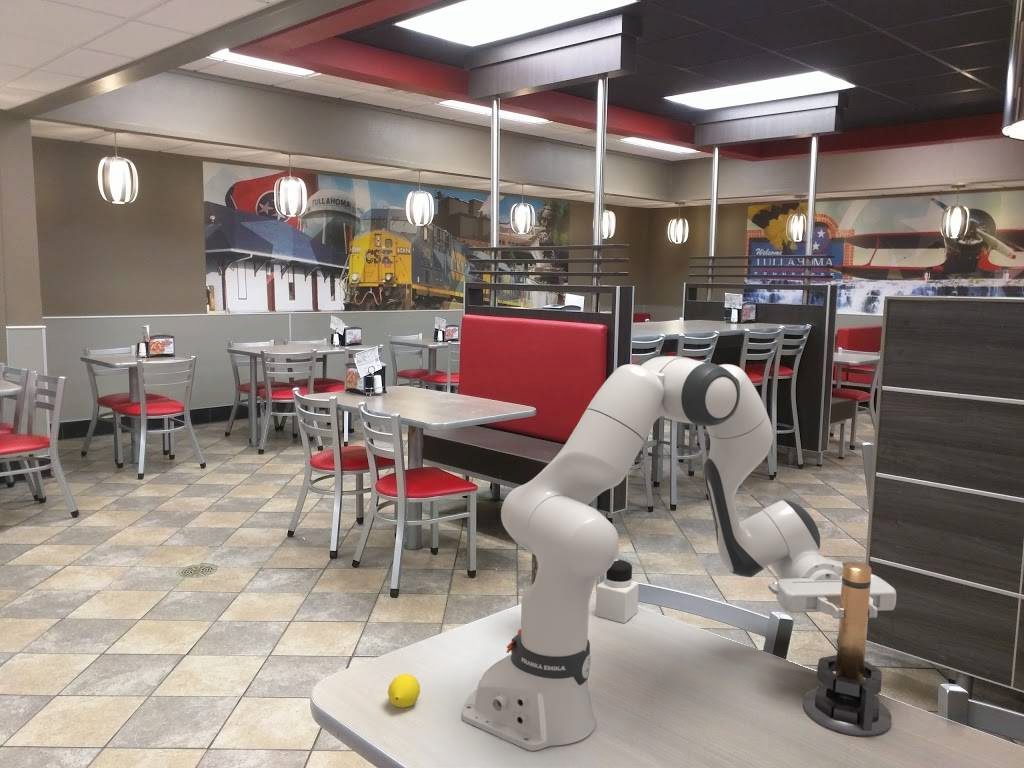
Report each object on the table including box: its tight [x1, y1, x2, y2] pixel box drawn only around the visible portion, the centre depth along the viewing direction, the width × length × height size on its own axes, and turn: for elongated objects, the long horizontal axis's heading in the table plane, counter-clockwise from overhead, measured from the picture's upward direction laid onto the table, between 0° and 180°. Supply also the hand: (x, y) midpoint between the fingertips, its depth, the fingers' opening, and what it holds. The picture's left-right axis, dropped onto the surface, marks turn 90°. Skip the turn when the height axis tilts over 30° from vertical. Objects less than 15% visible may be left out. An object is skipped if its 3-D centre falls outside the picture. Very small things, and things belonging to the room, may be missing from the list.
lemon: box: [387, 673, 421, 709], centre depth 136 cm, size 7×5×5 cm
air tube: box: [835, 561, 872, 681], centre depth 133 cm, size 4×4×20 cm
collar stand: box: [802, 654, 892, 738], centre depth 135 cm, size 14×14×8 cm
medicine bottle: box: [595, 559, 639, 624], centre depth 174 cm, size 7×7×12 cm
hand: (856, 614), depth 132 cm, fingers closed on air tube, 4 cm apart
